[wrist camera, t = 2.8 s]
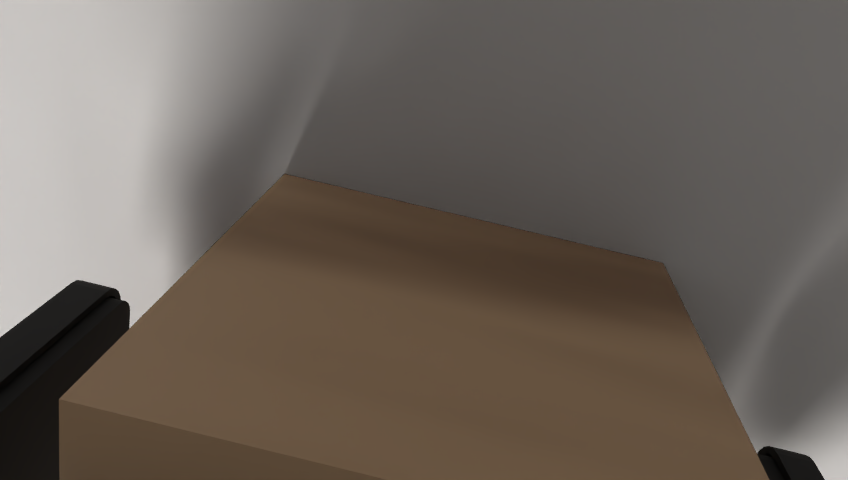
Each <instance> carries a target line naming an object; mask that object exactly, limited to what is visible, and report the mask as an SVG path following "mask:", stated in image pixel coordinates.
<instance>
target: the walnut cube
mask: <svg viewBox="0 0 848 480" xmlns="http://www.w3.org/2000/svg"><path fill="white" fill-rule="evenodd" d="M59 480H769V478H768V476H767V474H766V472H765V470H764V468H763V466H762V464H761V461H760V459H759V457H758V455H757V453H756V451H755V449H754V447H753V445H752V443H751V441H750V439H749V437H748V435H747V433H746V431H745V429H744V427H743V425H742V423H741V421H740V419H739V417H738V415H737V413H736V411H735V409H734V407H733V404H732V402H731V400H730V398H729V396H728V394H727V392H726V390H725V388H724V386H723V384H722V382H721V380H720V378H719V376H718V374H717V372H716V370H715V368H714V366H713V364H712V362H711V360H710V358H709V356H708V354H707V352H706V350H705V347H704V345H703V343H702V341H701V339H700V337H699V335H698V333H697V331H696V329H695V327H694V325H693V323H692V321H691V319H690V317H689V315H688V313H687V311H686V309H685V307H684V305H683V303H682V301H681V299H680V297H679V295H678V293H677V291H676V288H675V286H674V284H673V282H672V280H671V278H670V276H669V274H668V272H667V270H666V268H665V266H664V264H663V263H661V262H656V261H652V260H648V259H644V258H639V257H635V256H631V255H627V254H622V253H618V252H614V251H610V250H605V249H601V248H597V247H593V246H588V245H584V244H580V243H576V242H571V241H567V240H563V239H559V238H554V237H550V236H546V235H542V234H537V233H533V232H529V231H525V230H520V229H516V228H512V227H508V226H504V225H499V224H495V223H491V222H487V221H482V220H478V219H474V218H470V217H465V216H461V215H457V214H453V213H448V212H444V211H440V210H436V209H431V208H427V207H423V206H419V205H414V204H410V203H406V202H402V201H397V200H393V199H389V198H385V197H380V196H376V195H372V194H368V193H363V192H359V191H355V190H351V189H347V188H342V187H338V186H334V185H330V184H325V183H321V182H317V181H313V180H308V179H304V178H300V177H296V176H291V175H287V174H284V175H283V176H282V177H281V178H280V179H279V180H278V181H277V182H276V183H275V184H274V185H273V186H272V187H271V188H270V189H269V190H268V191H267V192H266V193H265V194H264V195H263V196H262V197H261V198H260V199H259V200H258V201H257V202H256V203H255V204H254V205H253V206H252V207H251V208H250V209H249V210H248V211H247V212H246V213H245V214H244V215H243V216H242V217H241V218H240V219H239V220H238V221H237V222H236V223H235V224H234V225H233V226H232V227H231V228H230V229H229V230H228V231H227V232H226V233H225V234H224V235H223V236H222V237H221V238H220V239H219V240H218V241H217V242H216V243H215V244H214V245H213V246H212V247H211V248H210V249H209V250H208V251H207V252H206V253H205V254H204V255H203V256H202V257H201V258H200V259H199V260H198V261H197V262H196V263H195V264H194V265H193V266H192V267H191V268H190V269H189V270H188V271H187V272H186V273H185V274H184V275H183V276H182V277H181V278H180V279H179V280H178V281H177V282H176V283H175V284H174V285H173V286H172V287H171V288H170V289H169V290H168V291H167V292H166V293H165V294H164V295H163V296H162V297H161V298H160V299H159V300H158V301H157V302H156V303H155V304H154V305H153V306H152V307H151V308H150V309H149V310H148V311H147V312H146V313H145V314H144V315H143V316H142V317H141V318H140V319H139V320H138V321H137V322H136V323H135V324H134V325H133V326H132V327H131V328H130V329H129V330H128V331H127V332H126V333H125V334H124V335H123V336H122V337H121V338H120V339H119V340H118V341H117V342H116V343H115V344H114V345H113V346H112V347H111V348H110V349H109V350H108V351H107V352H106V353H105V354H104V355H103V356H102V357H101V358H100V359H99V360H98V361H97V362H96V363H95V364H94V365H93V366H92V367H91V368H90V369H89V370H88V371H87V372H86V373H85V374H84V375H83V376H82V377H81V378H80V379H79V380H78V381H77V382H76V383H75V384H74V385H73V386H72V387H71V388H70V389H69V390H68V391H67V392H66V393H65V394H64V395H63V396H62V397H61V398H60V399H59Z"/></svg>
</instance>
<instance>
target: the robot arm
mask: <svg viewBox="0 0 848 480" xmlns="http://www.w3.org/2000/svg"><path fill="white" fill-rule="evenodd" d="M129 320H130V307H129V304H128V303H127V302H126V301H122V300H121V298H120V294H119V291H118V290H116V289H114V288H110V287H106V286H102V285H98V284H94V283H90V282H85V281H81V280H76V281H74V282H73V283H71V284H70V285H68V286H67V287H66V288H64V289H63V290H62V291H60V292H59V293H58V294H56V295H55V296H54V297H53V298H51V299H50V300H49V301H47V302H46V303H45V304H43V305H42V306H41V307H39V308H38V309H37V310H36V311H34V312H33V313H32V314H30V315H29V316H28V317H26V318H25V319H24V320H22V321H21V322H20V323H19V324H17V325H16V326H15V327H13V328H12V329H11V330H9V331H8V332H7V333H5V334H4V335H3V336H1V337H0V480H59V399H60V398H61V397H62V396H63V395H64V394H65V393H66V392H67V391H68V390H69V389H70V388H71V387H72V386H73V385H74V384H75V383H76V382H77V381H78V380H79V379H80V378H81V377H82V376H83V375H84V374H85V373H86V372H87V371H88V370H89V369H90V368H91V367H92V366H93V365H94V364H95V363H96V362H97V361H98V360H99V359H100V358H101V357H102V356H103V355H104V354H105V353H106V352H107V351H108V350H109V349H110V348H111V347H112V346H113V345H114V344H115V343H116V342H117V341H118V340H119V339H120V338H121V337H122V336H123V335H124V334H125V333H126V332H127V331H128V330H129ZM757 455H758V457H759V459H760V461H761V464H762V466H763V468H764V470H765V472H766V474H767V476H768V478H769V480H825V479H824V478H823V476H822V474H821V473H820V471H819V469H818V468H817V466H816V464H815V463H814V461H813V460H812V459H811V458H810V457H809V456H806V455H803V454H799V453H795V452H791V451H787V450H783V449H778V448H774V447H770V446H767V447H763V448H762V449H761V450H760V451H759V452H758V454H757Z"/></svg>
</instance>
